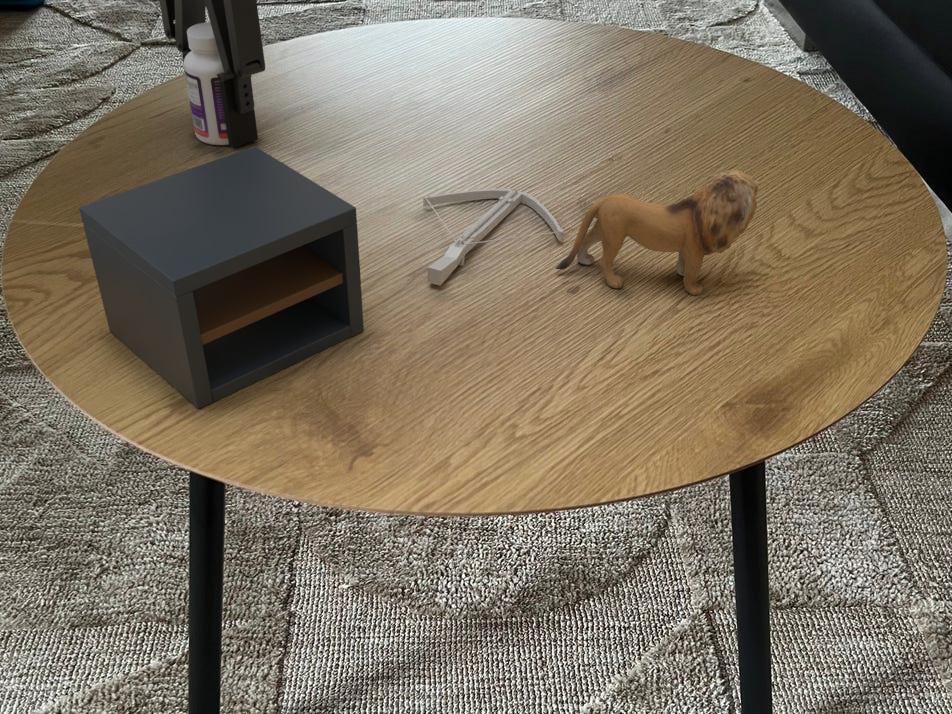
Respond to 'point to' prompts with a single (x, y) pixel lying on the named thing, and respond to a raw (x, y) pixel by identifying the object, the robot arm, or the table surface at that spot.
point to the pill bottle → (205, 85)
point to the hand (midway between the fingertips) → (225, 130)
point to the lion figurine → (670, 226)
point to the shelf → (226, 272)
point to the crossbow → (481, 225)
